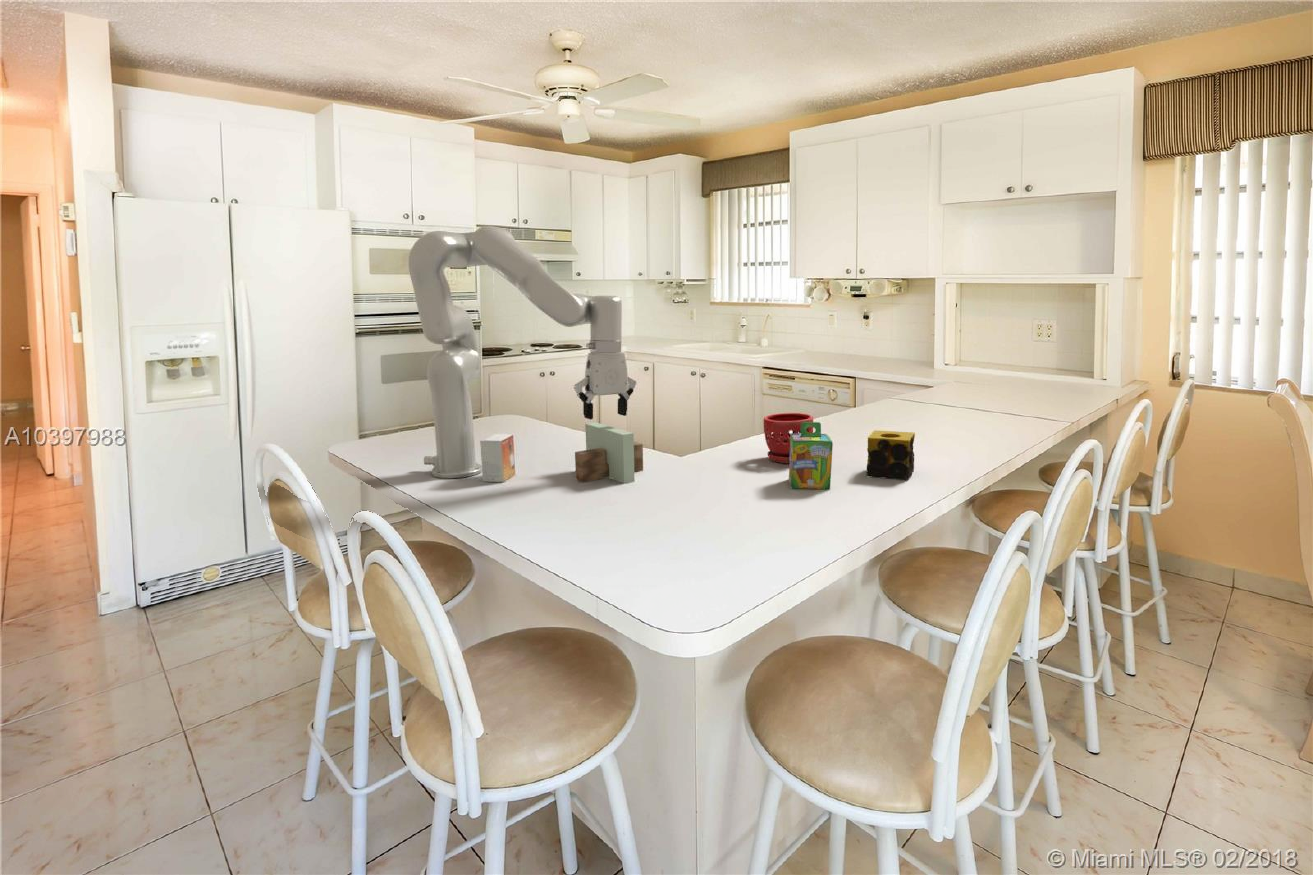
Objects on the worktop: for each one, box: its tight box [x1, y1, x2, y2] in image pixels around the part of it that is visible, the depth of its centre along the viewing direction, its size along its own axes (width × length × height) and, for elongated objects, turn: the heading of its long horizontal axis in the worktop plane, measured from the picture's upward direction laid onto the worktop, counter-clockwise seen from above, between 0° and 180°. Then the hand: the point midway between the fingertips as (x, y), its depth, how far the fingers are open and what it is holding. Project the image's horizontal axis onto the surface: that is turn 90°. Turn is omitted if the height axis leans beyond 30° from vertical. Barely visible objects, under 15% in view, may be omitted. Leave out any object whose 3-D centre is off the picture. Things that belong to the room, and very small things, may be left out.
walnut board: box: [574, 441, 644, 483], centre depth 185 cm, size 18×3×7 cm, turn 125°
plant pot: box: [763, 412, 814, 465], centre depth 198 cm, size 13×13×12 cm
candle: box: [866, 430, 916, 481], centre depth 182 cm, size 10×10×10 cm
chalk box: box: [788, 421, 834, 490], centre depth 173 cm, size 9×9×15 cm
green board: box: [584, 421, 636, 484], centre depth 185 cm, size 18×3×12 cm, turn 35°
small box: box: [479, 433, 516, 483], centre depth 184 cm, size 8×6×10 cm
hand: (605, 416), depth 183 cm, fingers open, 9 cm apart
